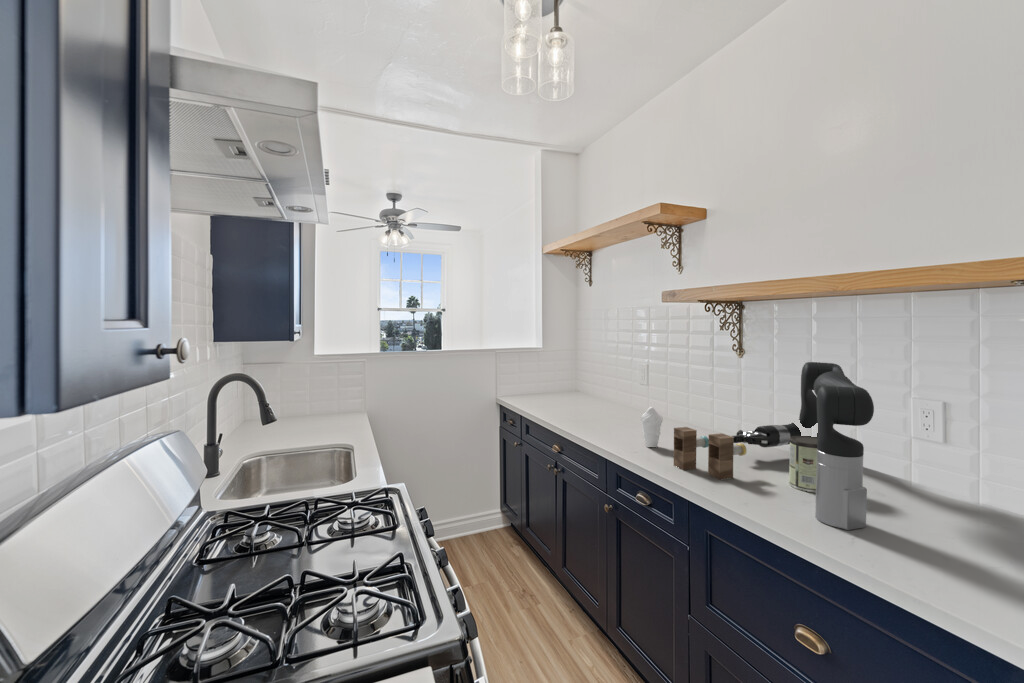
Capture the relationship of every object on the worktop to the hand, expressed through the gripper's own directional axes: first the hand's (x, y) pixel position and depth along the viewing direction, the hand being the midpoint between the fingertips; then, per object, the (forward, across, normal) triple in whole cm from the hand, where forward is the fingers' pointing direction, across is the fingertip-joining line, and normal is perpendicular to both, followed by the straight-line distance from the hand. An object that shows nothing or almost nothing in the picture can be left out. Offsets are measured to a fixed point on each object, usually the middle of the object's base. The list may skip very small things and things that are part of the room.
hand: (732, 439), depth 157 cm
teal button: (+15, 0, +2) cm, 15 cm away
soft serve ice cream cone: (+16, -25, +8) cm, 31 cm away
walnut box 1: (+19, 0, +8) cm, 21 cm away
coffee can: (-4, +26, +8) cm, 28 cm away
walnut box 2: (+14, +11, +8) cm, 20 cm away
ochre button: (+10, +11, +2) cm, 15 cm away
